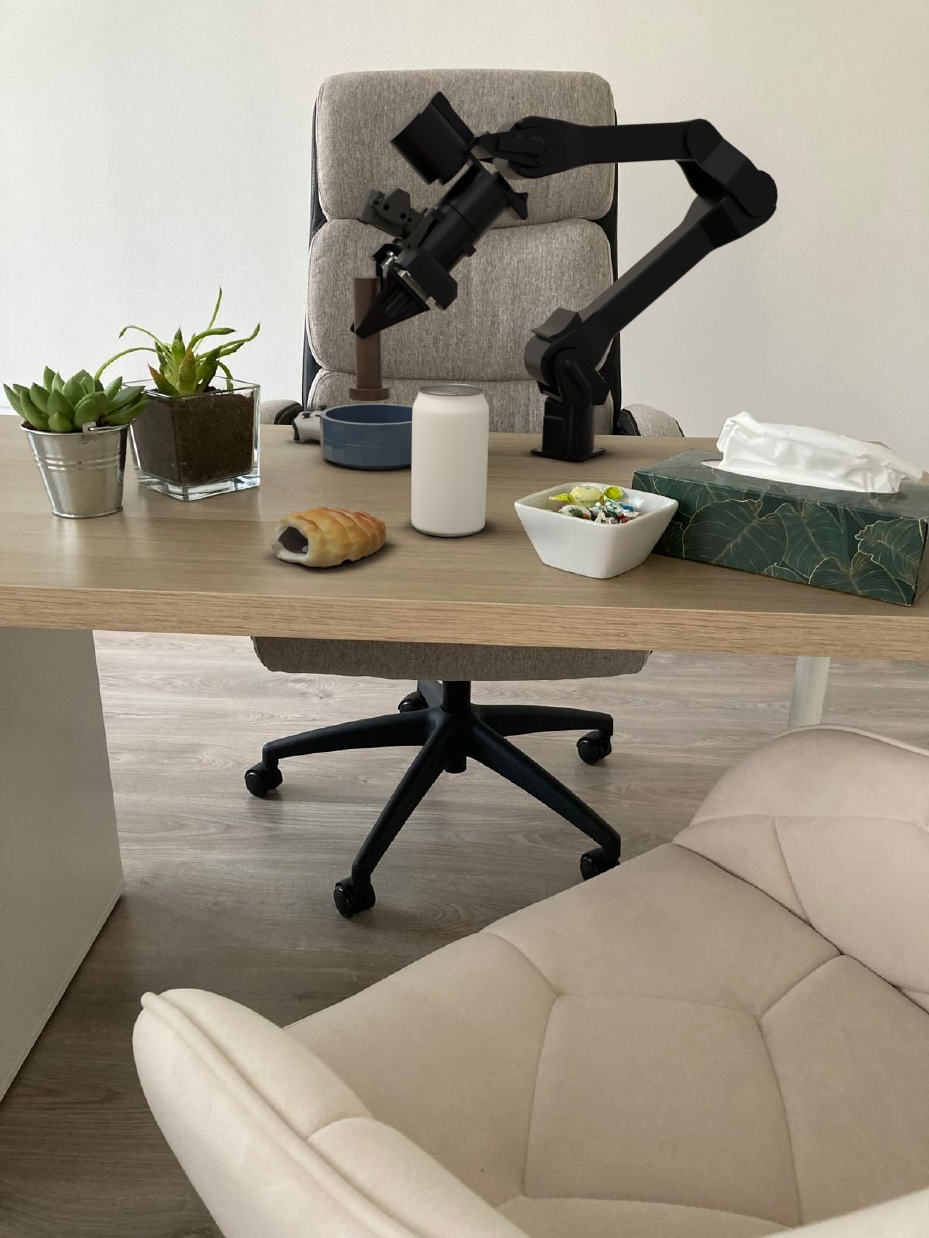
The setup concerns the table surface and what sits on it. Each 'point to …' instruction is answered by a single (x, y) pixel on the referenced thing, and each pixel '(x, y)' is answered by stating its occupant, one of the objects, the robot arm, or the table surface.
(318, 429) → the game controller
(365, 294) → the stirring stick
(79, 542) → the table surface
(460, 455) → the can
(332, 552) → the pastry
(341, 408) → the bowl
